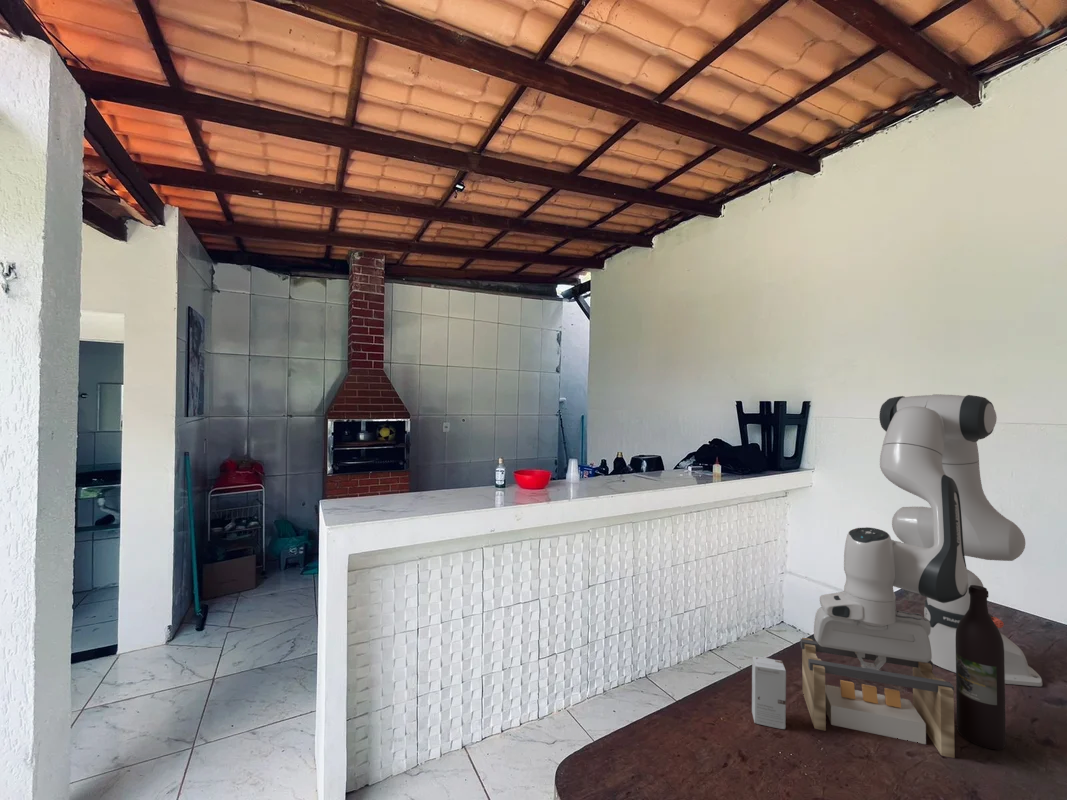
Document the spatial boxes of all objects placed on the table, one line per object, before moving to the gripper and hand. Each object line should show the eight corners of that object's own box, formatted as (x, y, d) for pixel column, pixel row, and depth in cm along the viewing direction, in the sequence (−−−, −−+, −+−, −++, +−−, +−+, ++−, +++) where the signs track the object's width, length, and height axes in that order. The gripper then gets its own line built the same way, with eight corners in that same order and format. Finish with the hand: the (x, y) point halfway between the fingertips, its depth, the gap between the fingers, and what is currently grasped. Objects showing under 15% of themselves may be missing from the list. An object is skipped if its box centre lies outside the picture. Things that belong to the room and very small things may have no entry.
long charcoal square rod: (929, 666, 98) (929, 658, 98) (932, 670, 97) (932, 662, 97) (800, 645, 107) (800, 638, 107) (801, 649, 105) (801, 642, 105)
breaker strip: (909, 718, 99) (909, 699, 99) (925, 744, 91) (925, 723, 91) (822, 701, 104) (822, 683, 104) (831, 724, 97) (831, 705, 97)
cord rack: (924, 715, 100) (923, 656, 100) (954, 758, 87) (953, 690, 88) (802, 692, 108) (802, 637, 108) (814, 728, 96) (813, 666, 96)
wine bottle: (947, 725, 96) (945, 580, 97) (982, 726, 96) (980, 580, 97) (978, 750, 89) (976, 594, 90) (1016, 751, 89) (1014, 594, 90)
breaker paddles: (899, 706, 96) (897, 690, 97) (901, 707, 95) (899, 691, 96) (840, 695, 100) (839, 679, 101) (842, 696, 99) (840, 681, 100)
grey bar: (949, 690, 90) (949, 682, 90) (953, 695, 89) (953, 686, 89) (808, 666, 99) (808, 658, 99) (809, 670, 97) (809, 662, 97)
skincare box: (754, 724, 97) (753, 666, 97) (751, 710, 101) (750, 655, 101) (787, 730, 95) (786, 671, 95) (782, 716, 99) (782, 659, 99)
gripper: (923, 608, 97) (924, 675, 97) (811, 594, 104) (812, 656, 104) (937, 621, 91) (938, 692, 91) (817, 606, 99) (818, 671, 98)
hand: (870, 673), depth 98 cm, fingers closed
